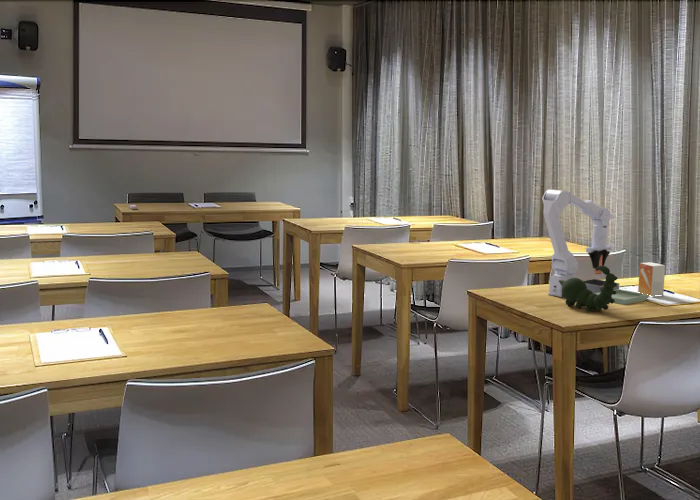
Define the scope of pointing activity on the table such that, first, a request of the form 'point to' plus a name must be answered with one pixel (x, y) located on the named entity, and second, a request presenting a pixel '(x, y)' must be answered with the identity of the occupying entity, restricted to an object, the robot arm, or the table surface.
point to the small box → (651, 278)
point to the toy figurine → (589, 292)
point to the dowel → (599, 265)
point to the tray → (627, 297)
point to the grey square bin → (596, 285)
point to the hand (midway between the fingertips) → (598, 268)
